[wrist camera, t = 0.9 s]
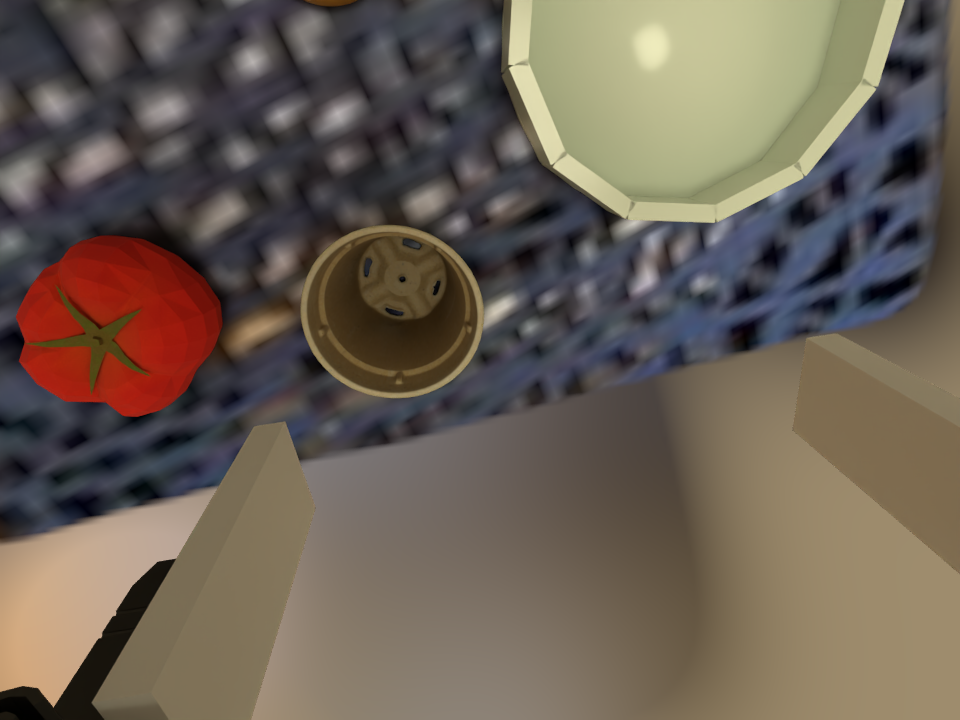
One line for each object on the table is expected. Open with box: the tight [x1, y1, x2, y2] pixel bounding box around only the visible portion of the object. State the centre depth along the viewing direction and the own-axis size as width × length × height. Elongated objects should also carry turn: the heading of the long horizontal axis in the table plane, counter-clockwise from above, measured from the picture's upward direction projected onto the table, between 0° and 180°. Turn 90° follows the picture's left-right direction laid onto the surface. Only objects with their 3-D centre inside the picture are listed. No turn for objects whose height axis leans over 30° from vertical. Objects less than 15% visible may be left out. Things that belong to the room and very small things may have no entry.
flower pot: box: [301, 225, 484, 398], centre depth 31 cm, size 9×9×9 cm
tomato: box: [16, 235, 223, 417], centre depth 31 cm, size 10×11×6 cm
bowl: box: [501, 0, 904, 223], centre depth 28 cm, size 20×20×4 cm
